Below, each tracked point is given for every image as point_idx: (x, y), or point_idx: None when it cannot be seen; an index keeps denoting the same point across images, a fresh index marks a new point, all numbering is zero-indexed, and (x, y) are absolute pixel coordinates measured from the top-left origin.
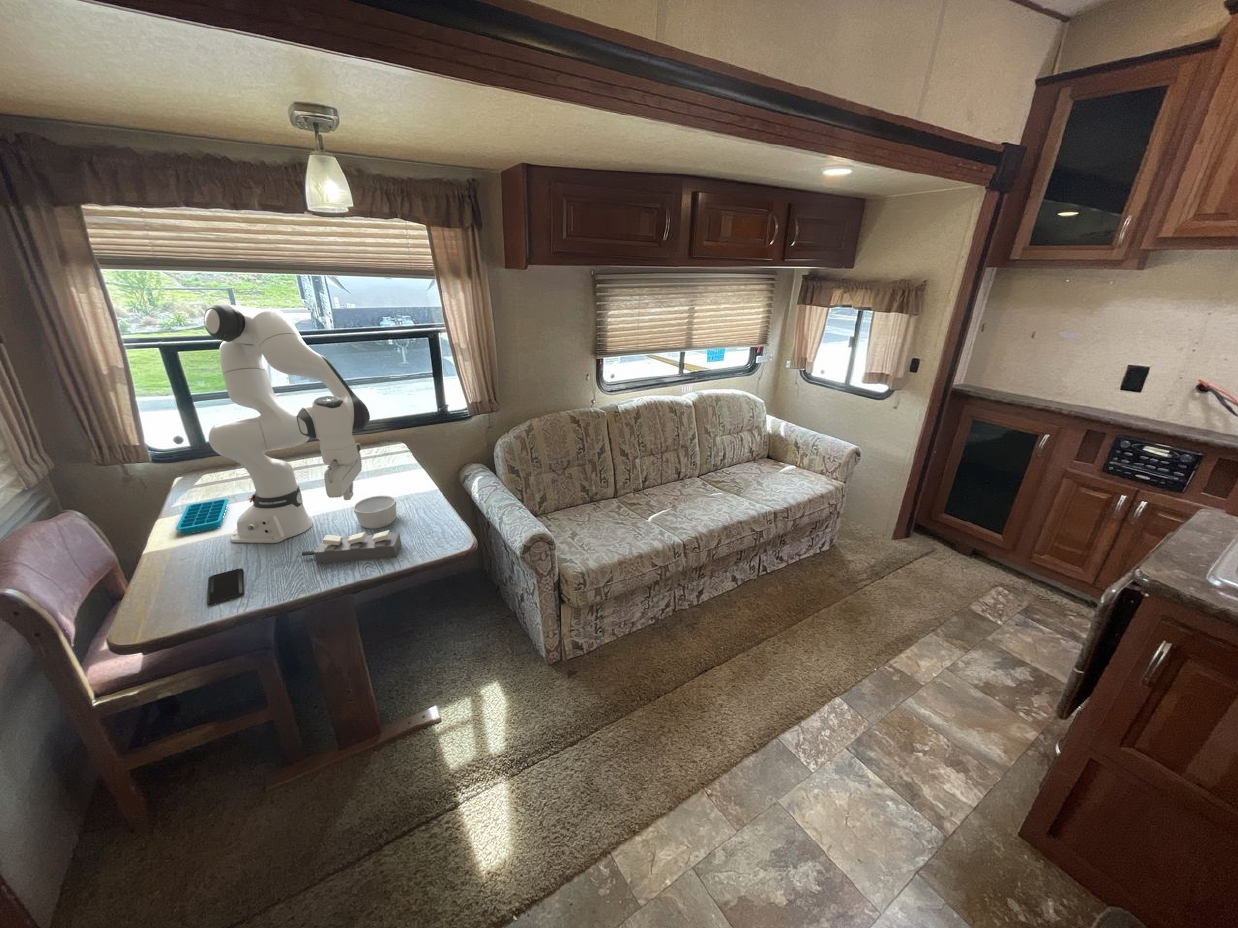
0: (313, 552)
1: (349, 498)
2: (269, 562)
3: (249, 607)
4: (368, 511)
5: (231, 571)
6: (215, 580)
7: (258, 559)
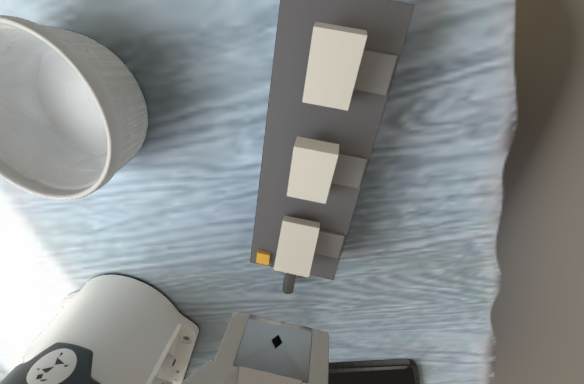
0: None
1: (326, 345)
2: None
3: (471, 349)
4: (44, 141)
5: None
6: None
7: None
